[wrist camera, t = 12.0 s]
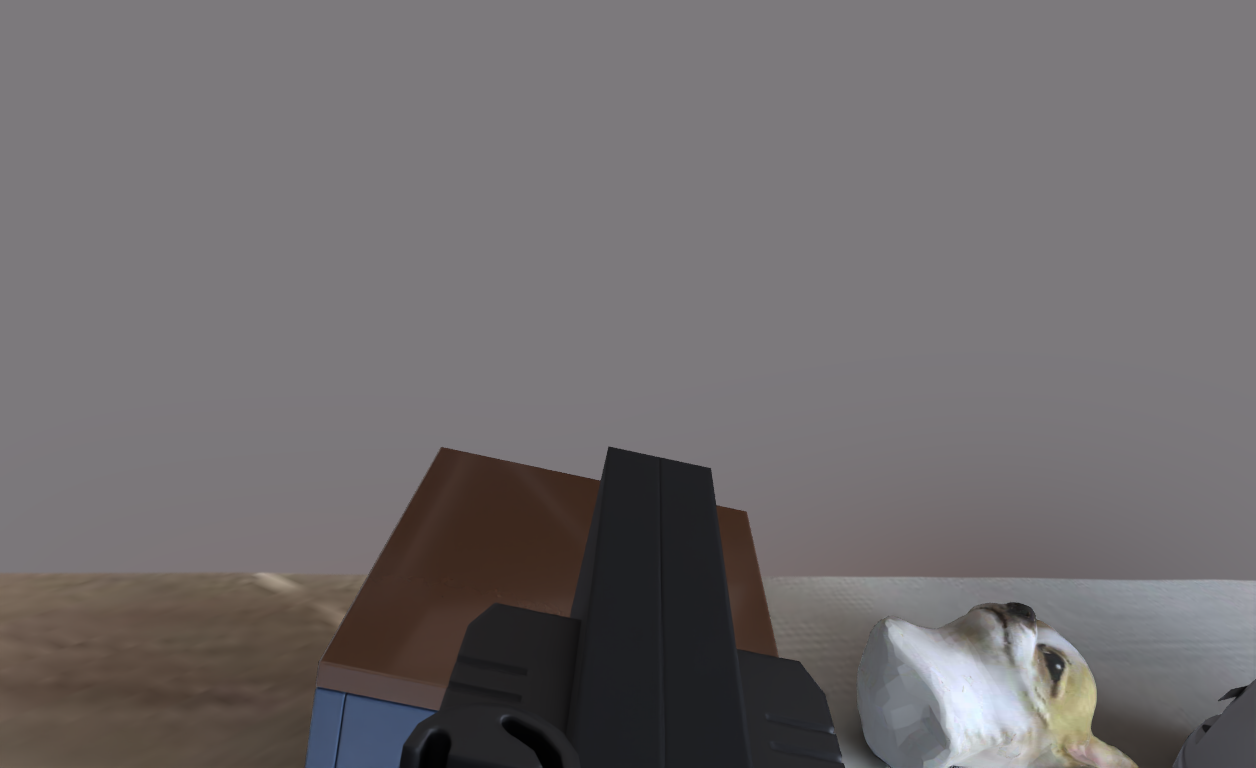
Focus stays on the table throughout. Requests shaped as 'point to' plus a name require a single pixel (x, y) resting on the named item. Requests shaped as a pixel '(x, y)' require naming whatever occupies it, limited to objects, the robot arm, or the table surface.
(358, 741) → the box
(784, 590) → the table surface
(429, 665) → the caddy lid
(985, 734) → the ceramic sculpture
